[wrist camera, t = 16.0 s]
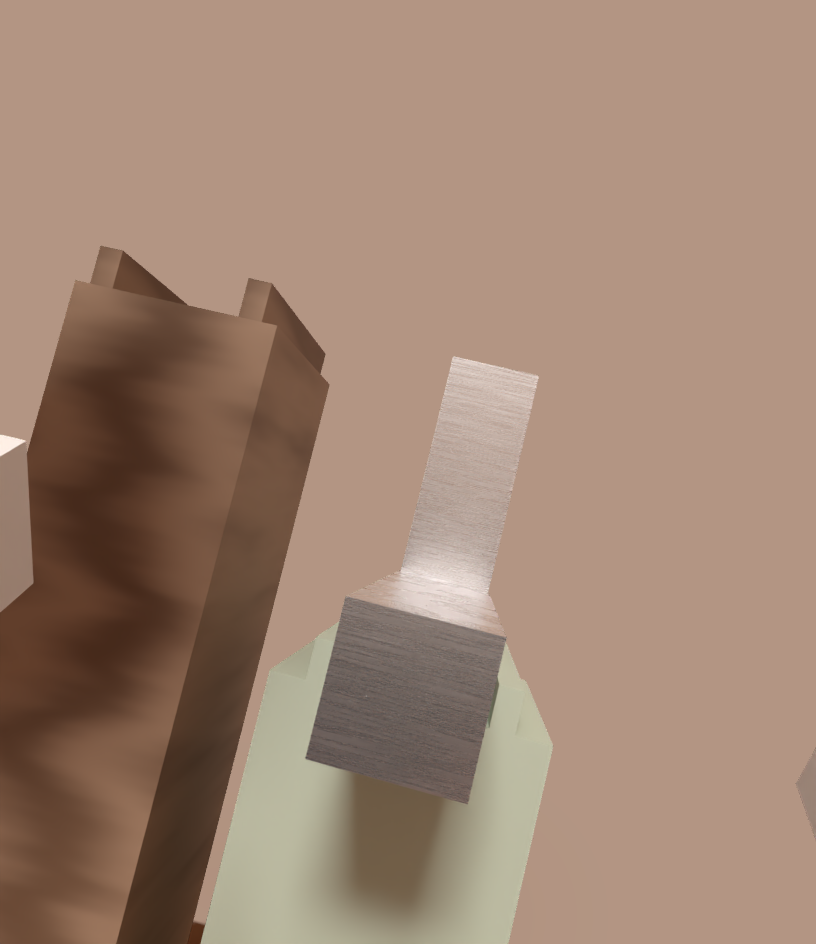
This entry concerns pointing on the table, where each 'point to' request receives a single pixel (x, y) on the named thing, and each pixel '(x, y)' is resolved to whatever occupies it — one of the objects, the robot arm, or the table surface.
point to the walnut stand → (144, 598)
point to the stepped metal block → (432, 606)
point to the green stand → (375, 831)
